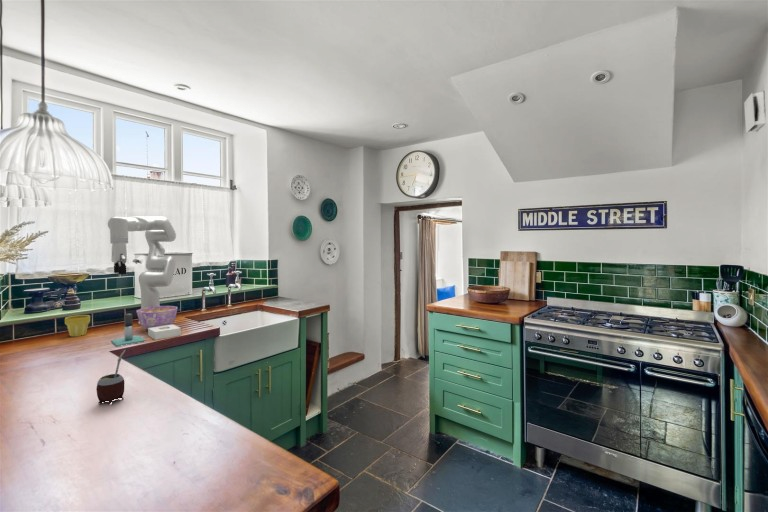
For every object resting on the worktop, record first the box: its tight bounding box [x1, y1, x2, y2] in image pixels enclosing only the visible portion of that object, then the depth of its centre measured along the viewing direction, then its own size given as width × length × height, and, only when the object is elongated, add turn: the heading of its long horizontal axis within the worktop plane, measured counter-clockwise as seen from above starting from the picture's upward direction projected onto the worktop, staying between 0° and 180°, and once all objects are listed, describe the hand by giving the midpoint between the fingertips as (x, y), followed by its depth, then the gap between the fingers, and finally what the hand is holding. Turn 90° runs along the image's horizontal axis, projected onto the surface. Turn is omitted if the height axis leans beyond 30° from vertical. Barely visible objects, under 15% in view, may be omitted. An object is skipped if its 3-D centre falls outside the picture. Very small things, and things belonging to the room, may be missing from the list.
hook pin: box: [123, 313, 133, 341], centre depth 180 cm, size 3×3×13 cm
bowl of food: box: [136, 305, 178, 330], centre depth 205 cm, size 20×20×12 cm
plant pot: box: [64, 314, 91, 337], centre depth 192 cm, size 10×10×10 cm
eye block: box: [147, 323, 182, 341], centre depth 192 cm, size 12×12×4 cm
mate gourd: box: [95, 349, 127, 404], centre depth 114 cm, size 8×8×15 cm
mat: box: [110, 335, 147, 347], centre depth 180 cm, size 12×12×1 cm
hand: (120, 273), depth 188 cm, fingers open, 9 cm apart
